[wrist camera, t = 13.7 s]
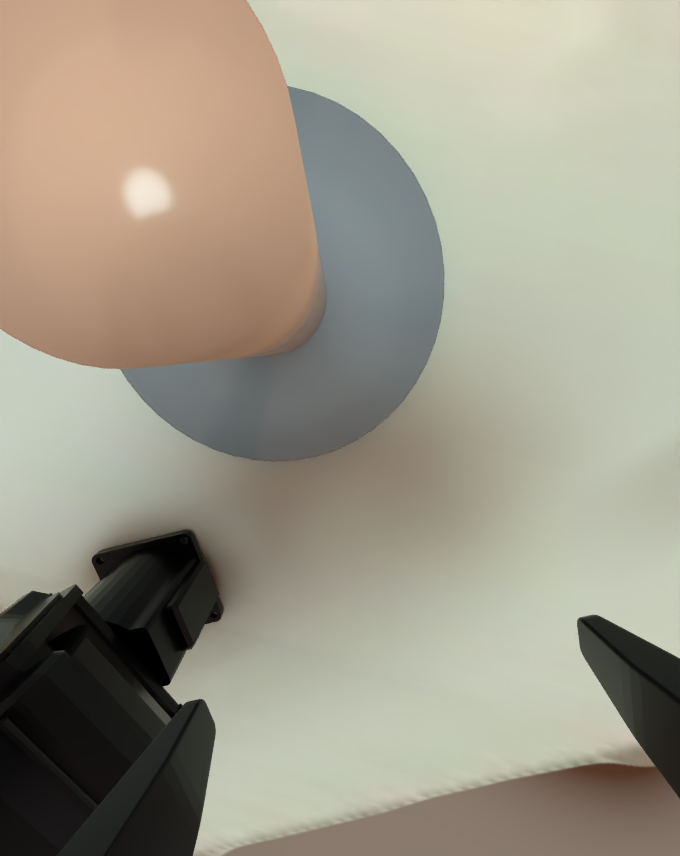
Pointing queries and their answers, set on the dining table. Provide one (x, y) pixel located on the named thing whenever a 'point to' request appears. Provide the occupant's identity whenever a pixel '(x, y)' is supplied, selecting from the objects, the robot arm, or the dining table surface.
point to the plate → (328, 310)
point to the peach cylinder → (151, 185)
